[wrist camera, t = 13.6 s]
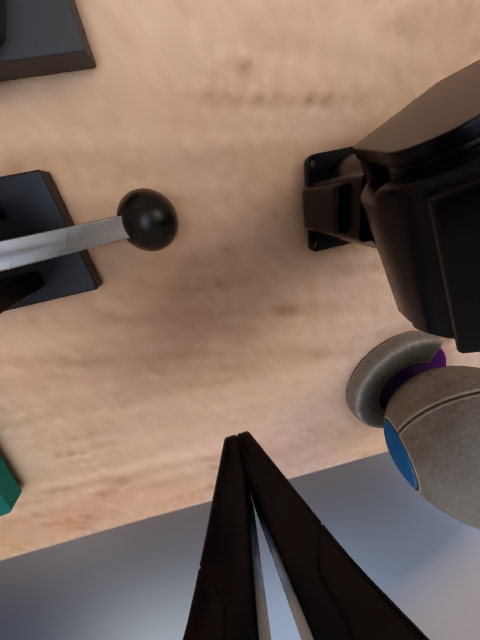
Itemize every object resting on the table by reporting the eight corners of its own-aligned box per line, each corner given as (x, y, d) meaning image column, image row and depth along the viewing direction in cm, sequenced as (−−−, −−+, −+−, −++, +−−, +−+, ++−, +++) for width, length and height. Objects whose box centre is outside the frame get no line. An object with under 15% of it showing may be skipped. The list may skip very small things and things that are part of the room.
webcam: (440, 391, 32) (618, 521, 19) (354, 433, 32) (474, 593, 19) (443, 312, 26) (710, 426, 13) (336, 364, 26) (496, 532, 13)
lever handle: (156, 187, 15) (178, 179, 12) (172, 241, 16) (194, 243, 14) (-242, 255, 8) (-362, 266, 6) (-151, 336, 10) (-215, 371, 7)
